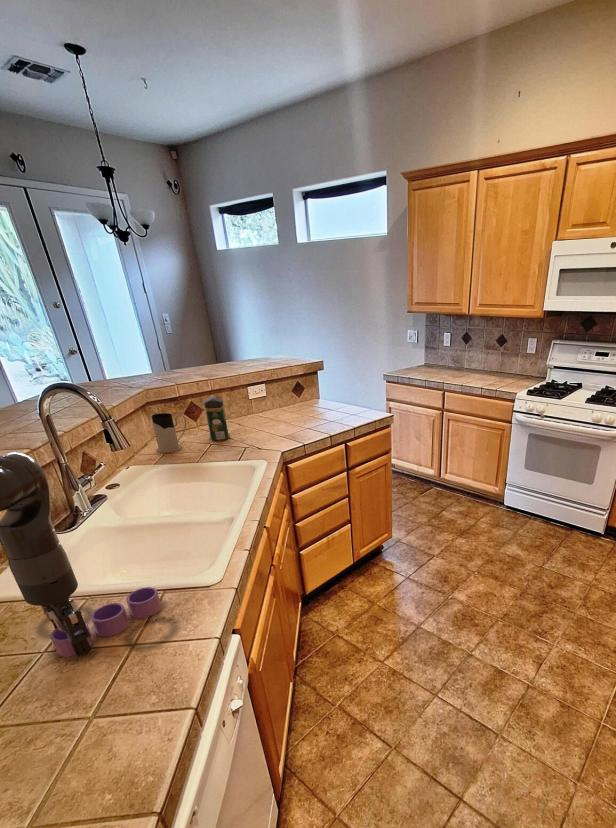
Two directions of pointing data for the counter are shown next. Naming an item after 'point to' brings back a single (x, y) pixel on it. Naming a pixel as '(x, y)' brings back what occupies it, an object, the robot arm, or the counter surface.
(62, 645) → the purple short hollow cylinder
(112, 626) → the dish middle
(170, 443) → the grey mug
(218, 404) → the coffee jar
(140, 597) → the dish far
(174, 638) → the counter surface
